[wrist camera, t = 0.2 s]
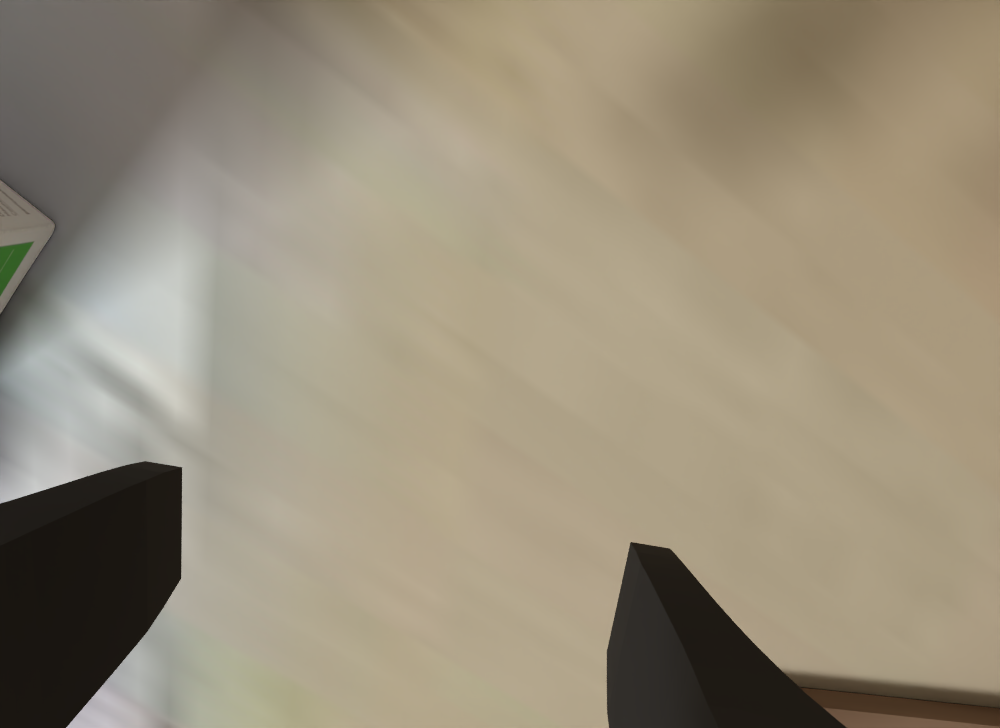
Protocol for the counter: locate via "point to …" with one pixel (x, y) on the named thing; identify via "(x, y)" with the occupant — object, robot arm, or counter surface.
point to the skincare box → (19, 239)
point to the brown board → (901, 711)
